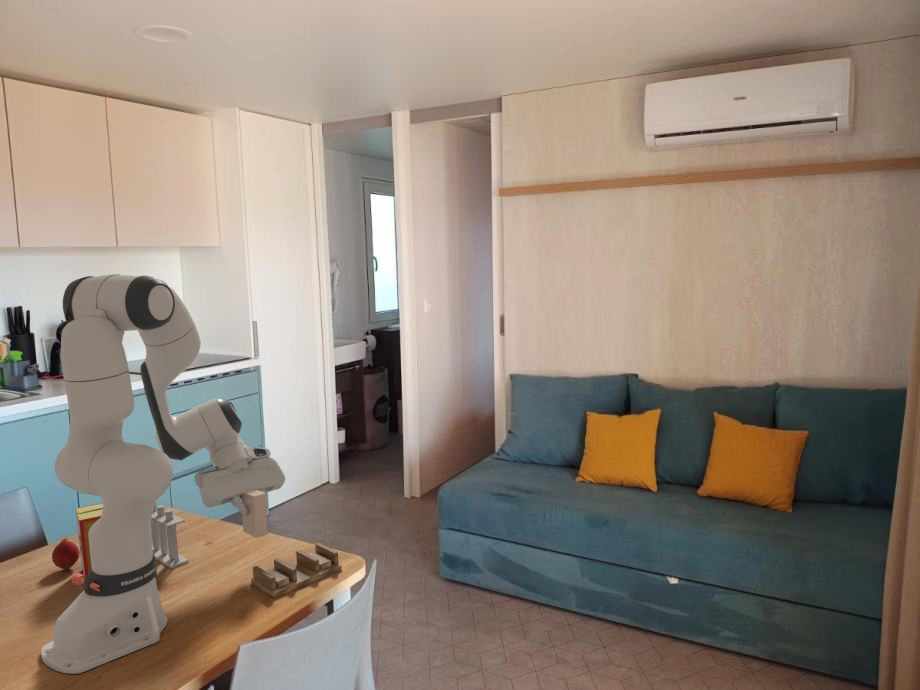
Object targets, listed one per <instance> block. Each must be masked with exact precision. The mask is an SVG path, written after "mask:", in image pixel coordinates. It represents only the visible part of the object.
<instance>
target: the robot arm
mask: <svg viewBox="0 0 920 690" xmlns="http://www.w3.org/2000/svg"><path fill="white" fill-rule="evenodd" d="M62 311H63V314H64V320H65V322H66V324H65V326H64V327H63V328H62V331H61V334H60V335H61V336H60V338H61V339H60V355H61V356H60V357H61V367H62V368H61V369H62V375H63V381H64V382H63V383H64V387H65V392H66V398H67V404H68V411H69V431H68V438H67V442H66V444H65V445H64V446H63V448H62V449H60V451H59V453H58V454H57V456H56V458H55V462H54V472H55V476H56V478H57V480H58V481H59V482H60V484H62V485H64V486H66V487H68V488H69V489H70V490H73V491H75V492H77V493H80V494H85V495H89V496H96V497H100V498H101V500H102V503H103V510H102V515H101V518H100V519H99V520H97V521H96V522H95V523H94V524H93V525H92V526H91V528H90V530H89V534H88V538H89V548H90V557H91V568H90V570H89V573H88V575H87V577H86V576H84V575H83V573H82V574H81V573H79V572H77V573H74V574H73V576H72V578H71V581H72V583H73V584H74V585H77V586H79V587H81V586H83V590H82V591H81V592H80V594H79V595H78V596H77V597H76V598H75V599H74V600H73V602H71V604H69V606H68V607H67V608H66V609H65V610H64V611H63V612H62V613H61V614H60V615H59V616H58V617H57V619H56V621H55V623H54V628H53V637H52V638H53V639H52V641H50V642H48V643H45V645H43V646H42V647H41V651H40V656H41V657H40V658H41V661H42V662H43V664H45V665H46V666H48V667H49V668H50V669H52V670H54V671H56V672H58V673H59V672H60V673H63V674H73V675H75V674H77V675H78V674H81V673H83V672H87V671H90V670H91V669H94V668H97V667H99V666H101V665H103V664H107V663H108V662H111V661H113V660H116V659H118V658H121V657H124V656H126V655H128V654H131V653H133V652H136V651H138V650H141V649H143V648H144V649H145V647H148V646H151V645H153V644H155V643H157V642H159V641H160V638H161V633H162V631H163V630H164V628H165V627H166V626H167V623H168V616H167V614H166V613H165V610H164V608H163V605H162V601H161V598H160V595H159V591H158V586H157V579H158V578H157V577H158V573H157V572H158V571H157V570H158V569H157V560H156V559H155V556H154V555H153V553H152V540H151V517H152V512H153V508H154V506H155V503H156V504H157V501H158V500H159V498H161V497H162V496H163V495H164V494H165V493H166V492H167V491H168V489H169V487H170V486H171V483H172V480H173V478H174V477H173V475H174V466H173V462H172V460H174V461H175V460H176V461H183V460H185V459H187V458H189V457H190V456H192V455H194V454H195V453H196V452H199V451H200V450H203V449H206V450H207V451H208V453H209V458H210V459H209V460H210V462H211V464H212V466H213V467H210V468H207V469H201V470H199V471H198V472H197V473H196V474H195V475H194V482H195V484H196V486H197V487H198V490H199V493H200V494H199V495H200V496H201V500H202V504H203V505H204V507H207V509H208V508H209V509H211V508H214V507H218V506H221V505H225V504H229V503H231V505H232V507H234V508H236V509H237V510H239V511H240V513H241V515H243V516H245V515H248V514H249V513H250V512H251V510H250V508H249V506H248V505H244V504H243V503H242V501H241V500H242V498H241V494H244V492H246V491H250V490H254V489H257V490H259V491H262V492H264V493H266V494H267V493H268V492H273V491H277V490H280V489H282V487H283V485H284V484H285V481H286V476H285V473H284V471H283V470H282V469H281V466H280V464H279V463H278V462H277V461H276V459H274V458H272V457H270V456H271V451H270V449H268V448H267V447H265V448H264V447H253V446H247V445H246V443H245V442H244V441H243V439H242V438H241V434H240V432H241V429H242V426H243V423H242V421H241V419H240V418H239V417H238V415H237V412H236V409H235V406H234V404H233V402H232V401H230V400H228V399H225V398H222V397H217V398H213V399H211V400H208V401H206V402H204V403H201V404H199V405H197V406H195V407H193V408H191V409H188V410H186V411H184V412H182V413H180V414H177V415H172V413H171V409H170V407H169V402H168V399H167V395H166V393H167V390H168V388H169V387H170V385H171V384H172V382H174V381H175V379H176V378H177V377H178V376H180V375H181V374H182V373H183V372H185V371H186V370H187V369H188V368H190V367H191V365H192V364H193V363H194V362H195V360H196V358H197V357H198V355H199V353H200V349H201V345H202V344H201V343H202V341H201V339H200V334H199V331H198V329H197V326H196V324H195V321H194V320H193V318H192V316H191V313H190V312H189V310H188V308H187V306H186V305H185V304H184V301H183V300H182V299H181V298H180V296H179V295H178V293H177V292H176V291H175V290H174V288H172V287H171V286H170V285H168V284H167V283H166V282H165V281H164V280H162V279H160V278H157V277H154V276H150V275H139V276H137V275H124V274H118V273H116V274H114V273H113V274H105V275H104V274H103V275H98V276H95V275H88V276H87V275H86V276H83V277H80V278H77V279H74V280H72V281H71V282H70V283H69V284H68V285H67V286H66V288H65V290H64V293H63V297H62ZM130 331H137V332H138V333H139V336H140V338H141V341H142V342H143V344H144V346H145V352H146V354H145V360H144V361H143V362H142V363H141V365H140V368H139V369H140V377H141V381H142V385H143V390H144V393H145V397H146V400H147V404H148V407H149V410H150V413H151V417H152V420H153V422H154V426H155V436H156V437H155V438H156V441H157V446H158V448H159V449H157V448H154V447H152V446H150V445H147V444H142V443H132V442H127V441H124V439H123V426H124V425H123V424H124V421H125V420H126V419H127V418H128V417H129V416H131V414H132V412H133V411H134V409H135V399H134V394H133V388H132V381H131V376H130V369H129V364H128V360H127V355H126V352H125V351H126V350H125V348H124V345H123V339H124V335H125V332H130ZM267 508H268V503H267V502H266V510H267Z"/></svg>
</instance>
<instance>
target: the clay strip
mask: <svg viewBox="0 0 920 690" xmlns="http://www.w3.org/2000/svg"><path fill="white" fill-rule="evenodd" d="M241 498H242V499H241V503H243V504H244V505H248V506H249V508H250V510H251V512H250V513H249V514H248V515H245V516H243V515H242V514H241V515H242V532H244V533H245V534H247V535H250V536H252V537H253V538H255V539H257V538H260V537H264V536H267V535H268V515H267V513H268V512H267V509H266V503H267V493H264V492H262V491H259V490H257V489H254V490H250V491H246V492H244V494H241Z"/></svg>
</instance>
